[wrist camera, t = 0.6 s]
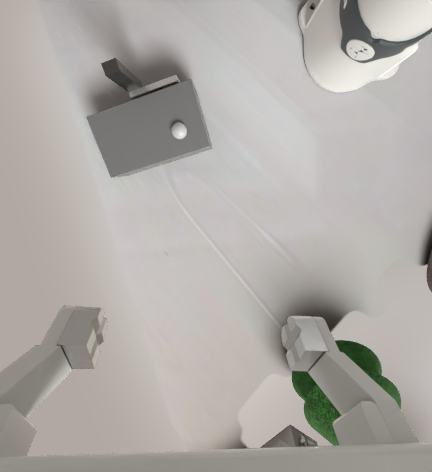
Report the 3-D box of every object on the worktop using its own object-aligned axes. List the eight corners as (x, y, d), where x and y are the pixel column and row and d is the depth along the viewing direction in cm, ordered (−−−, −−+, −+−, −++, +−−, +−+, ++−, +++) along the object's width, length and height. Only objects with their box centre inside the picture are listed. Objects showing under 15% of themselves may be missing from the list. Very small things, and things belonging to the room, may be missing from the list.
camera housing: (196, 91, 43) (189, 76, 35) (212, 148, 45) (209, 145, 38) (107, 123, 45) (83, 114, 37) (127, 175, 48) (108, 177, 40)
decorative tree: (278, 330, 57) (329, 501, 28) (361, 314, 54) (509, 482, 26) (293, 390, 62) (349, 585, 33) (369, 377, 59) (501, 576, 31)
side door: (180, 78, 42) (159, 40, 29) (184, 92, 42) (165, 60, 29) (139, 93, 43) (101, 63, 30) (143, 106, 43) (108, 82, 30)
